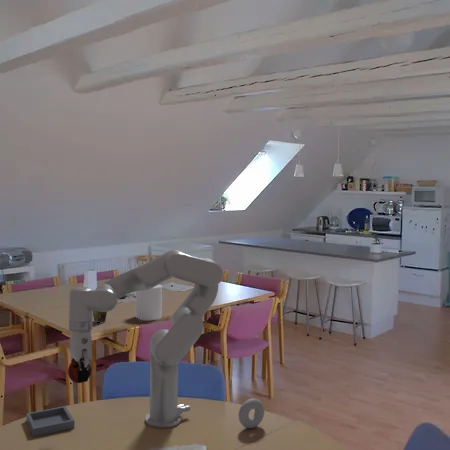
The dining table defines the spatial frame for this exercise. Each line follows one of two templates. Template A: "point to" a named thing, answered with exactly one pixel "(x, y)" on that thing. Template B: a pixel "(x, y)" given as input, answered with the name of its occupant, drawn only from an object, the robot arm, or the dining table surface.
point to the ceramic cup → (99, 316)
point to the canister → (149, 303)
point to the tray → (50, 421)
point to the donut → (245, 410)
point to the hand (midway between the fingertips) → (79, 377)
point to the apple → (76, 370)
